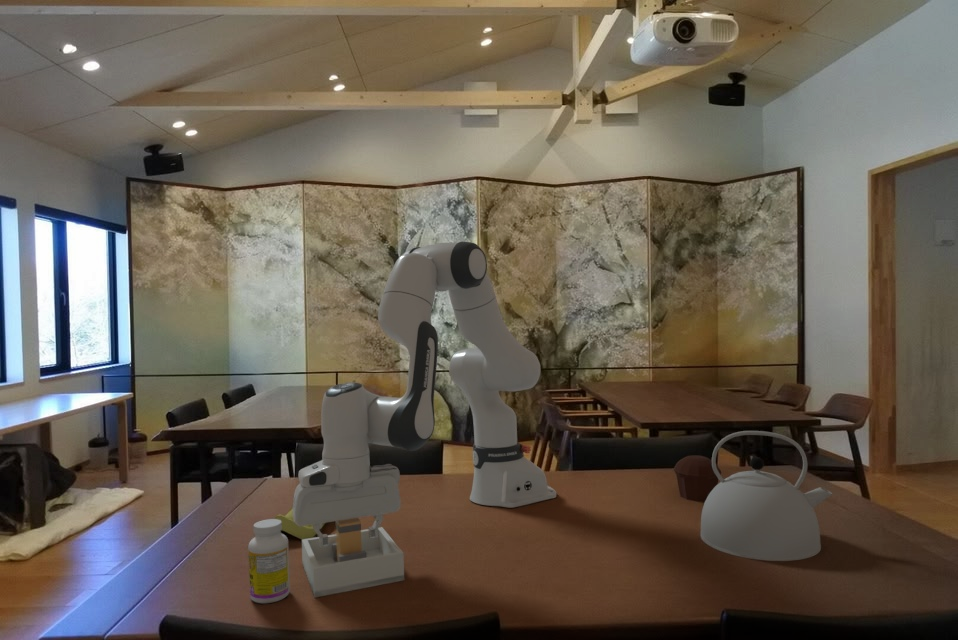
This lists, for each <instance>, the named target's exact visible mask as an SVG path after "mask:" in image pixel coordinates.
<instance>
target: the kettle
mask: <svg viewBox="0 0 958 640" xmlns="http://www.w3.org/2000/svg"><path fill="white" fill-rule="evenodd" d="M750 435H751V436H765V437H767V436H768V437H773V438H777V439H780V440H784V441H785V442H788V443H790V444H791V445H793V446H794V447H795V448H796V449H797V450H798V452H799V453H800V456H801V457H802V470H801V473H800V475H799V478H798V479H797V481H796V483H794V484H795V485H793V484H792V483H791V482H790V481H787V480H786V479H785V478H783V477H781V476H779V475H778V474H775V473H771V472H767V471H762V469H763V468H764V466H765V463H764V460H763V458H761V457H758V456H754V457H752V458H751V459H750V461H749V465H750V467H751V468H752V469H753V470H746V471H745V470H744V471H738V472H736V473H733V474H731V475H730V476H728V477H726V478H723V476H722V474H720V473H719V472H718V470H717V467H716V465H717V462H716V460H717V455H718V452H719V450H720V449H721V447H722V446H723V445H724V443H726V442H727V441H729V440H731V439H733V438H735V437H736V438H737V437H740V436H741V437H742V436H750ZM711 460H712V467H713V470H714V473H715V474H716V476H717V477H718V481H720V482H718V485H716V486H715V487H714V489H713V490H712V491H711V492H710V494H709V495H708V497H707V499H706V501H704V504H703V506H702V510H701V515H700V517H701V518H700V532H699V533H700V539H701V541H703V542H704V544H707V546H708V547H711V548H712V549H715V550H717V551H720V552H723V553H725V554H729V555H732V556H736V557H740V558H744V559H745V558H746V559H751V560H758V561H759V560H760V561H767V562H768V561H769V562H789V561H799V560H805V559H809V558H811V557H813V556H816V555H817V554H819V553H820V551H821V549H822V544H821V532H820V525H819V521H818V518H817V515H816V511H815V509H814V508H815V507H817V506H818V505H819V504H820V503H822V502H823V501H825V500H827V498H829V497H830V496H832V495H833V493H832V492H831V491H830V490H828V489H826V488H824V487H822V486H820V487H817V488H815V489H814V488H813V490H809V491H807V492H804V493H803V492H802V491H801V490H800V489H799V487H801V485H802V483H803V481H804V480H805V478H806V475H807V472H808V459H807V456H806V453H805V451H804V449H803V447H802V446H801V445H800V444H799V443H798V442H797V441H795V440H794V439H792V438H790V437H788V436H787V435H783V434H780V433H776V432H770V431H764V430H760V431H759V430H743V431H737V432H733V433H731V434H728V435H726V436H725V437H723V438H721V440H720V441H718V443H717V444H716V445H715V447H714V449H713V452H712V457H711Z"/></svg>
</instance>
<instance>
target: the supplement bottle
mask: <svg viewBox="0 0 958 640" xmlns="http://www.w3.org/2000/svg"><path fill="white" fill-rule="evenodd" d="M282 531H283V530H282V521H281V520H278V519H274V518H268V519H263V520H259V521H256V522H255V523H254V524H253V533H254V535H255V536H254V537H252V538H251V540H250V541H249V543H248V547H247V548H248V570H249V571H248V572H249V573H248V574H249V577H248V578H249V579H248V580H249V594H250V595H249V597H250V600H252V602H254V603H256V604H271V603H277V602H279V601H281V600H283V599H285V598H286V597H287V596H289V594H290V591H291V584H290V583H291V581H290V580H291V579H290V552H289V539H288V537H287V535H285V534H284V533H282Z"/></svg>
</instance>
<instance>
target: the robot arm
mask: <svg viewBox="0 0 958 640" xmlns="http://www.w3.org/2000/svg"><path fill="white" fill-rule="evenodd" d="M487 261H488V260H487V257H486V255H485V252H484V251H483V249H481V247H480V246H479V245H478V244H476V243H474V242H471V241H459V242H449V241H448V242H438V243H435V244H430V245H426V246H421V247H420V246H416V247H413V248H411V249H408V250H406V251H405V252H404V253H403V254H402V255H401V256H399V258H397V260H396V261H395V263H394V265H393V266H392V269H391V271H390V273H389V275H388V279H387V280H386V283H385V286H384V290H383V292H382V296H381V299H380V302H379V306H378V312H377V313H378V314H377V320H378V324H379V326H380V328H381V330H382V331H383V332H384V334H385V335H387V337H388V338H390V339H391V340H393V341H395V342H397V343H398V344H400V345H402V346H404V347H405V348H406V349H407V350H408V354H409V364H408V373H407V382H406V390H405V393H404V394H403V396H401V397H396V396H395V397H394V396H392V397H391V396H384V395H379V394H375V393H374V392H370V391H369V390H367V389H366V388H365V387H364V385H363V384H362V383H359V382H345V383H339V384H336V385H333V386H330V387H329V388H328V389H327V390H326V391H325V392H324V394H323V398H322V403H321V409H320V410H321V411H320V412H321V413H320V414H321V415H320V416H321V417H320V423H321V425H320V426H321V429H320V431H321V436H322V439H323V449H322V453H321V455H322V456H321V457H322V459H321V460H319V461H317V462H314V463H312V464H310V465H306V466H305V467H303V468H301V469H300V470H299V471H298V482H299V484H297V486H296V487H295V489H294V493H293V500H292V502H293V503H292V507H293V520H294V522H295V523H296V524H297V525H298V526H306V525H313V528H314V530H315V532H316V533H317V534H316V535H317V537H319V545H320V547H321V546H327V545H328V534H327V533H323V532H321V530H322V529H323V527H322V523H325V524H327V523H332V522H335V521H340V520H346V519H353V518H358V519H359V518H364V517H365V518H366V517H371V516H373V518H374V519H375V520H374V521H373V523H372V525H371V526H368V528H367V529H368V531H369V533H368V535H369V537H370V538H376V537H378V528H379V527H381V524H382V522H383V521H384V515H385V514H386V515H387V514H391V513H397V512H398V511H399V510H400V508H401V506H402V505H401V504H402V502H401V494H400V488H399V484H400V480H401V474H400V470H399V468H398V466H395V465H392V464H391V463H386V464H382V465H370V464H371V462H370V448H369V445H370V444H374V445H377V446H378V445H379V446H387V447H394V448H397V449H400V450H404V451H409V452H414V451H417V450H419V449H421V448H422V447H423V446H424V445H426V444H427V442H428V441H429V440H430V439H431V437H432V436H433V434H434V431H435V426H436V425H435V424H436V423H435V422H436V419H435V407H434V406H435V405H434V404H435V403H434V402H435V387H436V375H437V363H438V353H439V339H438V336H439V335H438V332H437V329H436V328H435V326H434V325H432V310H433V306H434V302H435V297H436V292H437V293H439V292H440V293H441V292H446V291H447V292H448V295H449V300H450V303H451V307H452V310H453V313H454V316H455V320H456V324H457V327H458V329H459V332H460V335H461V336H462V338H463V339H464V340H466V341H467V342H469V343H470V344H473V345H474V346H475V347H469V348H465V349H461V350H457V351H456V352H455V353H454V354H453V355H452V357H451V359H450V361H449V364H448V372H449V377H450V378H451V380H452V382H453V383H454V384H455V385H456V386H457V387H458V388H459V389H460V390H461V392H462V393H463V394H464V396H465V397H466V400H467V402H468V404H469V407H470V410H471V415H472V422H473V435H474V436H473V437H474V438H473V441H474V443H473V445H472V462H473V469H474V470H473V479H472V487H471V492H470V494H469V495H470V496H469V500H470V501H471V502H473V503H475V504H477V505H483V506H489V507H490V506H491V507H503V508H509V509H510V508H512V509H513V508H517V507H522V506H527V505H530V504H535V503H539V502H543V501H546V500H551V499H555V498H557V491H556V490H555V489H554V488H553V487H551V486H550V485H548V481H547V477H546V474H545V472H544V471H543V469H542V468H541V467H539V466H537V465H536V464H535V463H533V462H532V461H531V460H529V459H528V458H527V457H525V455H524V453H525V454H530V452H531V451H532V447H531V446H530V445H528V444H522V443H519V442H518V431H517V429H518V425H517V415H516V413H515V411H514V409H513V408H512V407H511V406H509V405H508V404H506V403H505V402H504V400H503V399H502V397H501V395H500V392H519V391H525V390H530V389H533V388H534V387H535V386H536V384H538V382H539V379H540V376H541V364H540V360H539V359H538V356H537V355H536V353H534V352H533V351H531V350H529V349H528V348H526V346H523V344H521V343H520V342H519V341H518V339H516V337H515V336H514V335H513V334H512V333H511V332H510V330H509V329H508V327H507V325H506V322H505V321H504V319H503V316H502V313H501V311H500V310H501V309H500V307H499V304H498V303H499V302H498V299H497V296H496V294H495V293H496V292H495V289H494V287H493V284H492V281H491V279H490V276H489V274H488V272H487V268H488V263H487ZM319 529H320V530H319Z"/></svg>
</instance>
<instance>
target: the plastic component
mask: <svg viewBox="0 0 958 640" xmlns="http://www.w3.org/2000/svg"><path fill="white" fill-rule="evenodd" d="M273 519H278V520H281V521H282V530H281V531H282V532H285V533H287V534H289V535H290V536H293V537H296V538H297V539H298V540H299V539H300V540H302V539H309V538H315V537H316V535H317V533H316V532H315V530H314V528H313V525H306V526H298V525H297V524H296V523H295V522H294V520H293V506H292V507H291V508H290V509H289V510H288V512H287V513H286V514H284V515H283V514H278V515H276V516H275V517H274V518H273ZM325 524H326V523H322V528H323V527H324V526H325ZM319 530H320V531H321V529H319Z"/></svg>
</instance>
